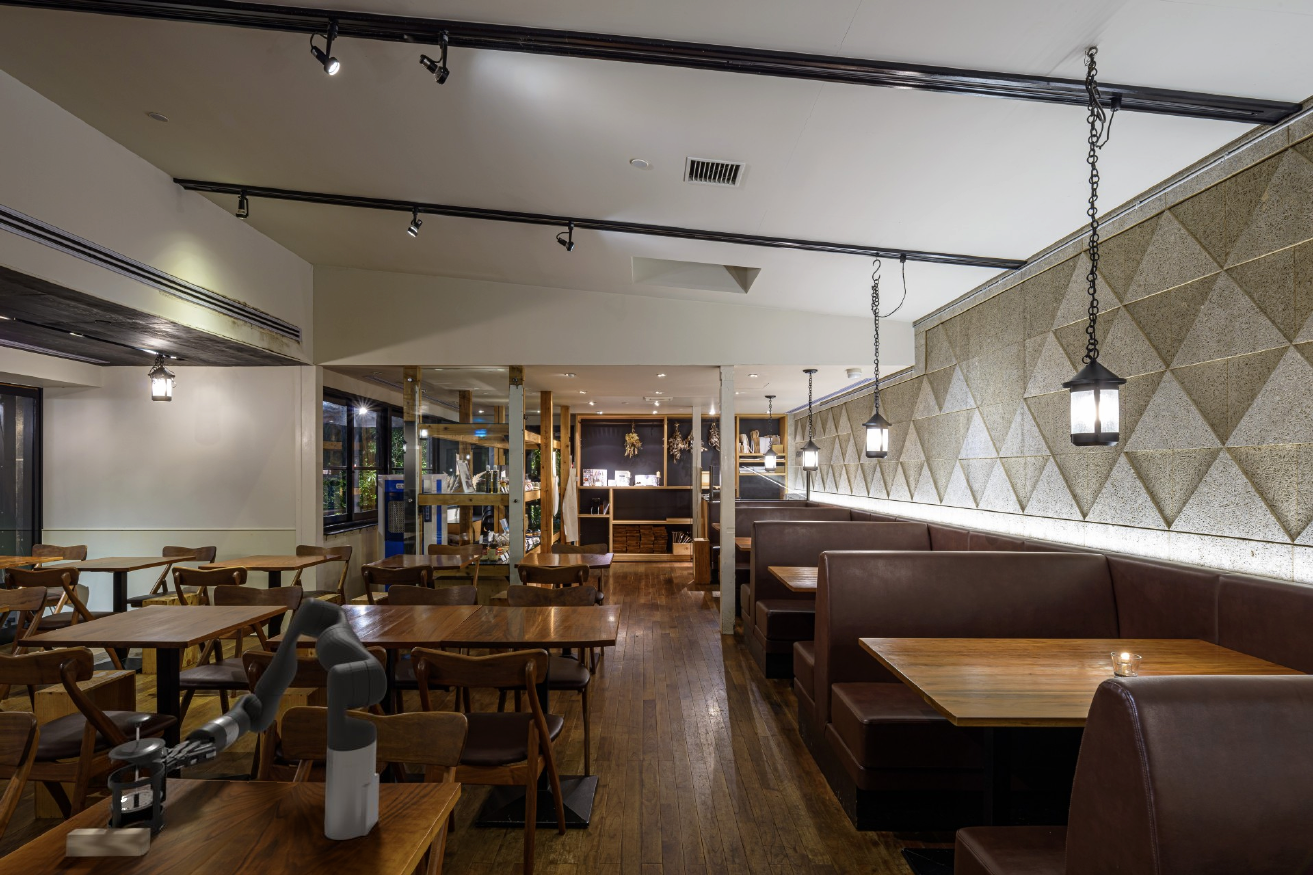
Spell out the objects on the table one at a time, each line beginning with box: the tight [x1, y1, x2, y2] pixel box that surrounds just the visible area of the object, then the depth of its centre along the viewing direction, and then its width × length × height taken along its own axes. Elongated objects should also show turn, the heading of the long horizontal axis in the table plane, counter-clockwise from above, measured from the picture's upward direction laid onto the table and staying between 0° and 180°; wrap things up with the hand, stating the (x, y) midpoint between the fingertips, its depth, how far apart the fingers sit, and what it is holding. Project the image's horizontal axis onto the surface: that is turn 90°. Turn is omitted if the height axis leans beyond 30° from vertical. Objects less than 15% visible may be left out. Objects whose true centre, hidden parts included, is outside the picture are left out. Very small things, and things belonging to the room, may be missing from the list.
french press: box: [106, 714, 168, 838], centre depth 133 cm, size 12×9×23 cm
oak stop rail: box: [65, 827, 151, 857], centre depth 126 cm, size 14×2×4 cm, turn 92°
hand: (158, 770), depth 139 cm, fingers closed
